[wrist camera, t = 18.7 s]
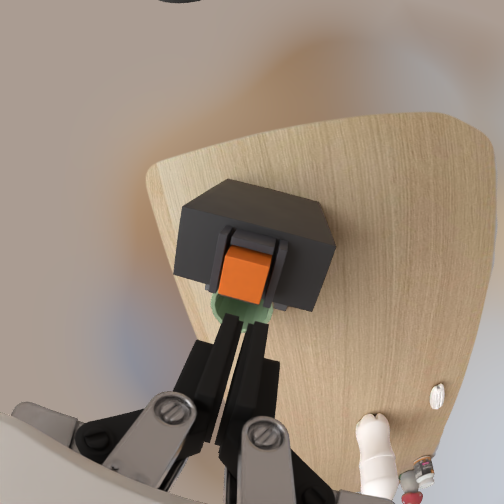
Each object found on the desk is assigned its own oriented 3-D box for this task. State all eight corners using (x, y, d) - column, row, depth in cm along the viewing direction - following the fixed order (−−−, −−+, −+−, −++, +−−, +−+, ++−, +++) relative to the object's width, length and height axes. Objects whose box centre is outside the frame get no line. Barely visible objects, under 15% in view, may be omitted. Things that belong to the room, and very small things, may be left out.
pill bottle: (433, 453, 55) (440, 479, 46) (423, 463, 57) (429, 488, 48) (419, 455, 56) (424, 482, 46) (409, 464, 58) (413, 490, 49)
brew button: (231, 243, 21) (225, 255, 19) (272, 254, 21) (269, 267, 19) (224, 279, 22) (217, 293, 20) (262, 289, 22) (259, 304, 20)
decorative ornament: (395, 473, 60) (400, 512, 46) (415, 466, 58) (422, 504, 44) (402, 480, 62) (406, 515, 48) (420, 473, 60) (426, 508, 46)
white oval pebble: (442, 378, 44) (447, 388, 41) (440, 400, 46) (444, 409, 44) (429, 384, 45) (433, 393, 42) (427, 405, 47) (431, 414, 45)
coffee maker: (227, 178, 36) (171, 212, 20) (319, 202, 36) (340, 256, 19) (206, 286, 43) (159, 369, 26) (285, 307, 42) (277, 402, 26)
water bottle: (386, 423, 50) (401, 520, 27) (355, 431, 52) (362, 529, 29) (387, 406, 48) (406, 512, 25) (353, 414, 50) (362, 522, 27)
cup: (231, 246, 38) (216, 272, 31) (283, 260, 38) (279, 289, 31) (222, 291, 41) (206, 323, 34) (269, 303, 41) (264, 338, 33)
